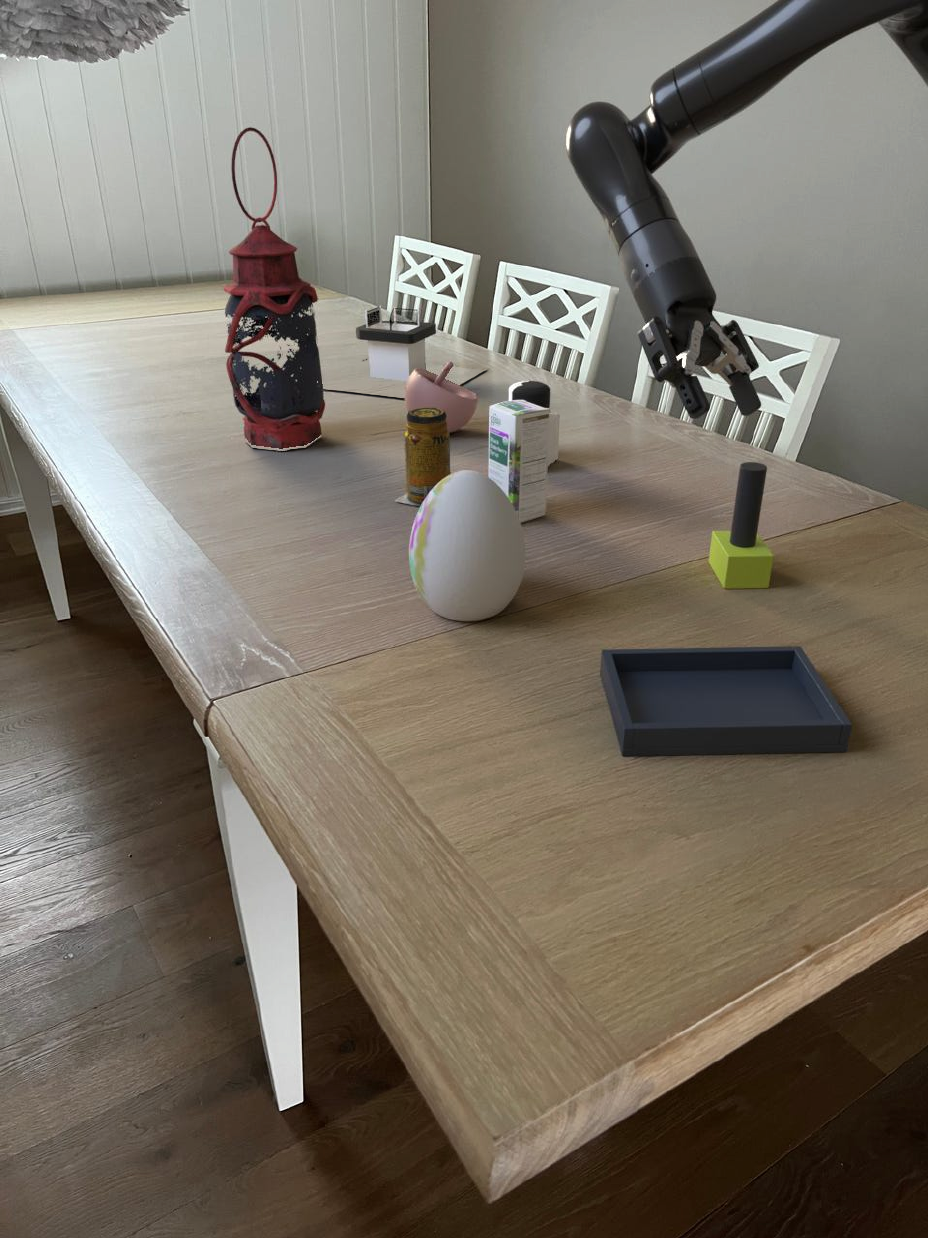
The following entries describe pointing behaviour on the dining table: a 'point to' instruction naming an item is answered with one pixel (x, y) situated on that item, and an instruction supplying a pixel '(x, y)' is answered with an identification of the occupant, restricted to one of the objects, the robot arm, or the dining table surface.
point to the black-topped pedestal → (395, 343)
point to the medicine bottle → (541, 397)
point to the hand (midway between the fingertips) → (727, 413)
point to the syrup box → (520, 454)
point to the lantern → (273, 335)
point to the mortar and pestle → (440, 396)
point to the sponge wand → (743, 536)
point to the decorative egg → (467, 548)
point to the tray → (720, 702)
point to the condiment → (425, 453)
